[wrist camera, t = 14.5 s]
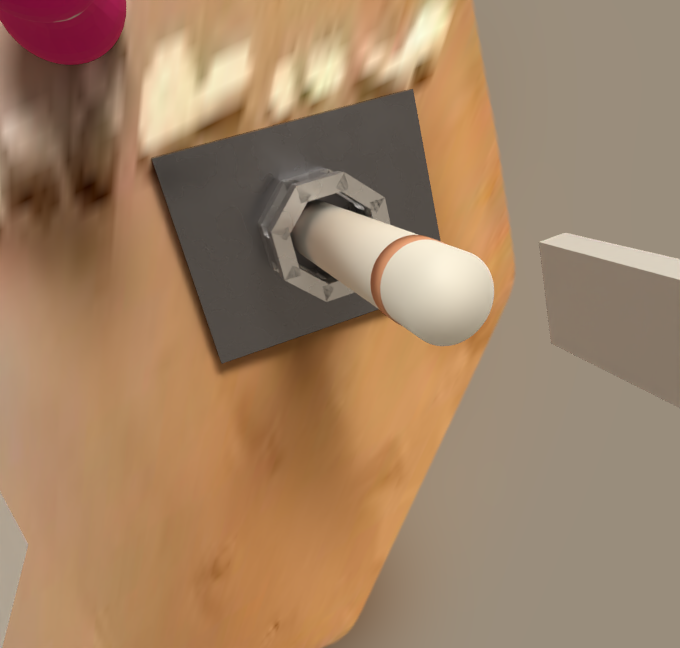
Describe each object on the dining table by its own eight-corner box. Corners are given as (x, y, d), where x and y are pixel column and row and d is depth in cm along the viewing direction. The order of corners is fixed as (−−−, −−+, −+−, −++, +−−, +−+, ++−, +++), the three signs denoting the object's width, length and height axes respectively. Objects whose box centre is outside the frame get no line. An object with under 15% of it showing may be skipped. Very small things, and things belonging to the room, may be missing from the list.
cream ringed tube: (295, 265, 48) (414, 360, 28) (280, 209, 46) (394, 266, 26) (349, 248, 49) (501, 328, 29) (335, 192, 47) (487, 235, 27)
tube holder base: (219, 357, 49) (231, 387, 44) (151, 157, 44) (154, 161, 38) (440, 281, 54) (478, 299, 48) (404, 90, 48) (443, 84, 42)
